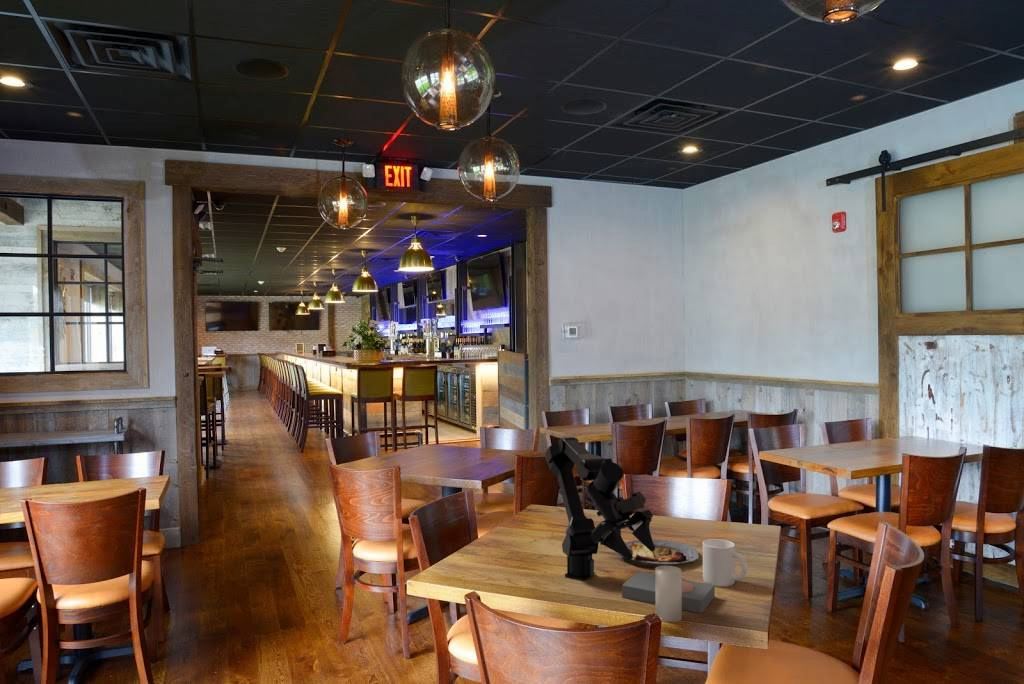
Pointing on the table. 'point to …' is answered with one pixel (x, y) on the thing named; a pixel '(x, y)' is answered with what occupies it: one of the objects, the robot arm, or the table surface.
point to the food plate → (662, 552)
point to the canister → (668, 593)
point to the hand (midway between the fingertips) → (642, 554)
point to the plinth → (692, 592)
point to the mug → (721, 563)
